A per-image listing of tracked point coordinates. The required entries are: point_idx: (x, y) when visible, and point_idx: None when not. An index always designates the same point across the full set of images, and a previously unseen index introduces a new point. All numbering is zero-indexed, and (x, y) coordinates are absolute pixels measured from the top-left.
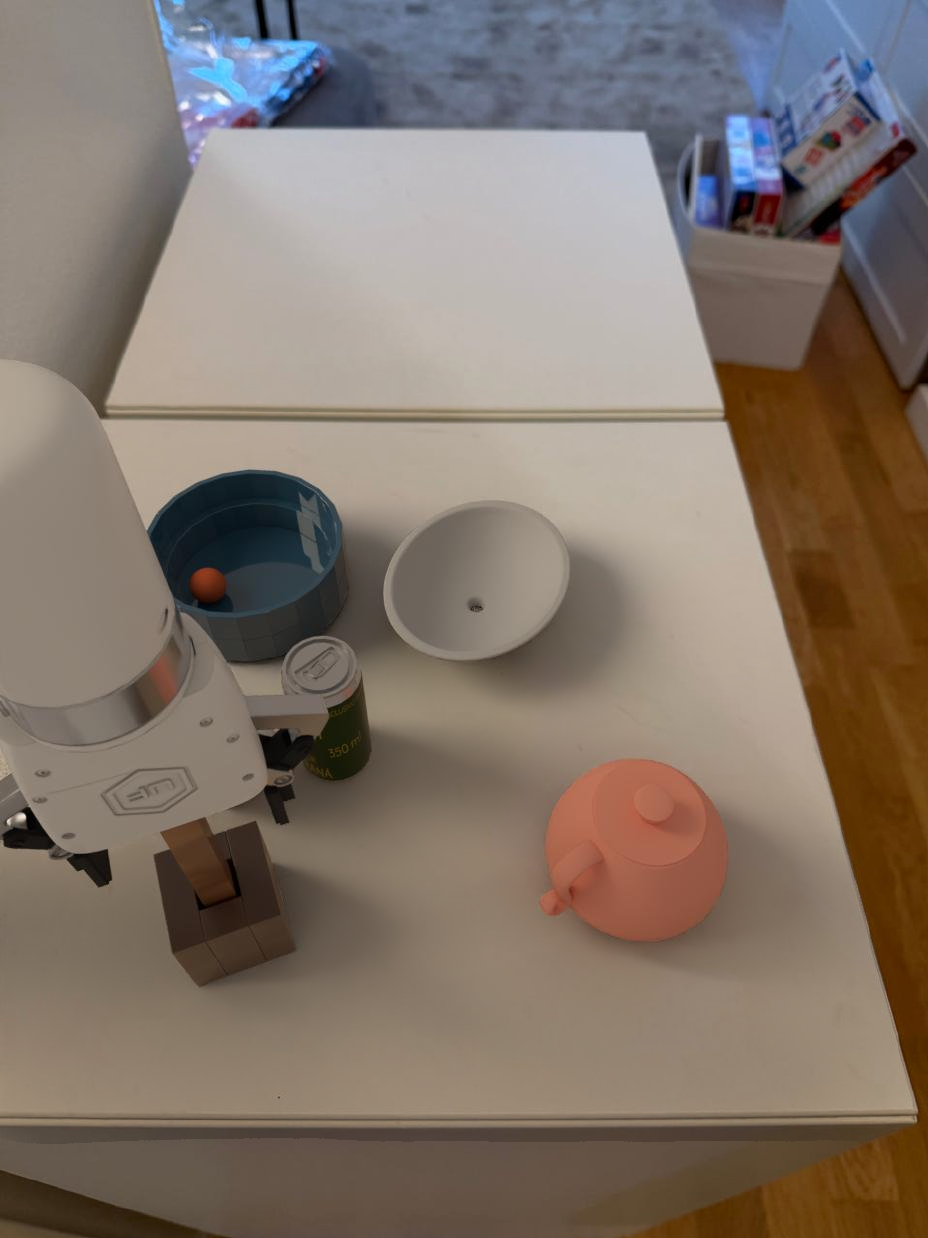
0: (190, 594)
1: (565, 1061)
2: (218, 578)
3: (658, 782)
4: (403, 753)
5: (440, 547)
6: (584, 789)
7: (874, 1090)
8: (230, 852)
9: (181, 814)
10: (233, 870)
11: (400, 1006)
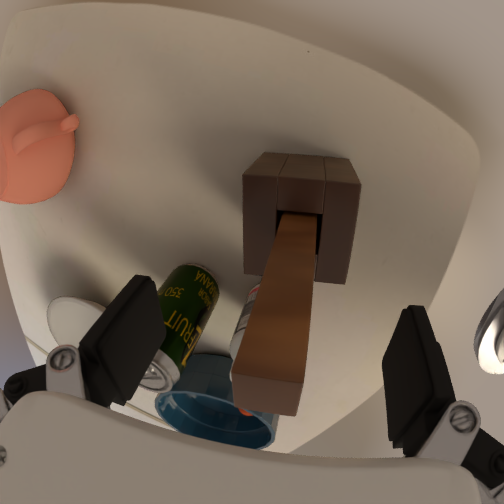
0: None
1: (110, 29)
2: (240, 408)
3: None
4: (153, 263)
5: None
6: (19, 191)
7: (15, 19)
8: None
9: (164, 493)
10: None
11: (196, 82)
